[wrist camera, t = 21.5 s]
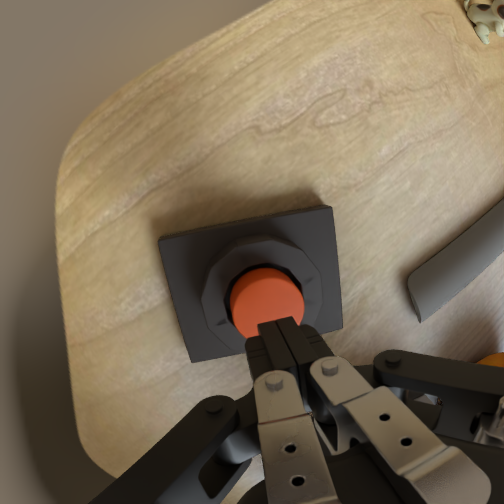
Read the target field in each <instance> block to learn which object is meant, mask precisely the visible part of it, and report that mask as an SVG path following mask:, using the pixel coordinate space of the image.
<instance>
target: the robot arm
mask: <svg viewBox="0 0 504 504" xmlns="http://www.w3.org/2000/svg"><path fill="white" fill-rule="evenodd" d="M257 328H258V334H259V335H258V336H253V337H249V338H247V340H246V342H245V344H244V346H245V351H246V356H247V360H248V365H249V369H250V374H251V378H252V381H253V388H252V390H251V391H250V392H249V393H248V394H247V395H245V396H244V397H242V398H240V399H238V400H235V401H234V400H233V399H232V398H230V397H228V396H223V395H216V396H211V397H208V398H205V399H203V400H202V401H200V402H199V403H198V404H197V405H196V406H195V407H194V408H193V409H192V410H191V411H190V412H189V413H188V414H187V415H186V416H185V417H184V418H183V419H182V420H180V421H179V422H178V423H177V424H176V425H175V426H174V427H173V428H172V429H171V430H170V431H169V432H168V433H167V434H166V435H165V436H164V437H163V438H162V439H161V440H160V441H158V442H157V443H156V444H155V445H154V446H153V447H152V448H151V449H150V450H149V451H148V452H147V453H146V454H144V455H143V456H142V457H141V458H140V459H139V460H138V461H137V462H136V463H135V464H133V465H132V466H131V467H130V468H129V469H128V470H127V471H126V472H124V473H123V474H122V475H121V476H120V477H119V478H118V479H116V480H115V481H114V482H113V483H112V484H111V485H110V486H108V487H107V488H106V489H105V490H104V491H103V492H101V493H100V494H99V495H98V496H97V497H95V498H94V499H93V500H92V501H91V502H89V503H88V504H220V503H221V502H222V500H223V499H224V498H225V497H226V495H227V494H228V493H229V492H230V490H231V489H232V488H233V486H234V485H235V484H236V483H237V481H238V480H239V479H240V477H241V476H242V475H243V473H244V472H245V471H246V469H247V468H248V467H249V465H250V463H251V461H252V457H254V456H256V455H258V454H260V453H261V455H262V462H263V469H264V476H265V479H264V480H262V481H261V482H259V483H258V484H256V485H255V486H253V487H252V488H251V489H250V490H249V491H247V492H246V493H245V494H244V495H243V497H242V498H241V499H240V500H239V502H238V503H237V504H504V367H498V366H490V365H484V364H477V363H470V362H464V361H458V360H452V359H446V358H440V357H434V356H429V355H423V354H418V353H413V352H407V351H402V350H394V349H393V350H386V351H383V352H381V353H379V354H378V355H376V357H375V358H374V361H373V365H364V366H352V365H351V364H350V363H349V362H348V361H347V360H346V359H344V358H342V357H338V356H335V355H334V354H333V352H332V351H331V349H330V348H329V347H328V345H327V344H326V342H325V341H323V338H322V337H321V336H320V334H319V333H318V331H317V330H316V329H315V328H314V327H312V326H310V325H308V324H304V325H300V326H298V324H297V323H296V321H295V320H294V318H293V317H292V316H289V317H285V318H281V319H277V320H275V321H274V320H272V321H268V322H264V323H259V324H257ZM409 390H410V391H414V392H419V393H423V394H428V395H433V396H436V397H438V398H440V399H441V401H442V403H443V405H440V406H439V405H433V404H429V403H424V402H420V401H416V400H411V399H407V398H408V391H409ZM310 411H312V413H313V415H314V424H315V427H316V429H317V431H318V432H319V434H320V436H321V437H322V439H323V441H324V442H325V444H326V446H327V447H328V449H329V451H330V452H331V454H332V455H331V456H324V455H323V452H322V449H321V446H320V443H319V440H318V437H317V434H316V431H315V428H314V425H313V422H312V419H311V416H310V414H309V413H307V412H310Z"/></svg>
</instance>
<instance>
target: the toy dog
mask: <svg viewBox="0 0 504 504" xmlns="http://www.w3.org/2000/svg"><path fill="white" fill-rule="evenodd" d="M468 3H469V0H465V1H464V7H465V10H466V11H467V16H468V17H469V19H470V20H471V21H473V22H474V23H475V24H476V25H477V26H475V27H474V29H475V31H476V33H477V35H478V36H479V38H480V39H481V40H482V42H483V43H485V44H488V43H489V39H488V35H489V33H490V32H491V31H496V33H497V35H498V36H500V37H504V0H494V1H493V3H492V5H487V4H473V5H471V6H470V7H469V6H468ZM489 31H490V32H489Z"/></svg>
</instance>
